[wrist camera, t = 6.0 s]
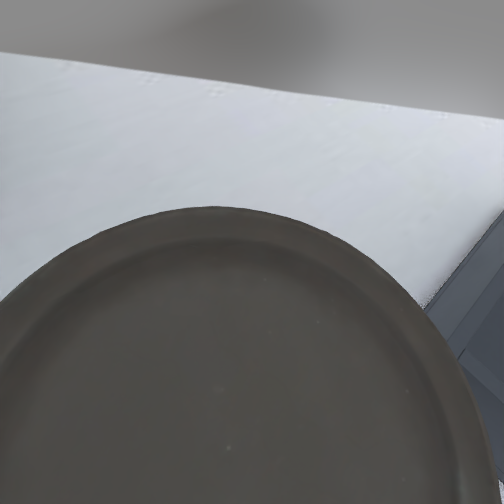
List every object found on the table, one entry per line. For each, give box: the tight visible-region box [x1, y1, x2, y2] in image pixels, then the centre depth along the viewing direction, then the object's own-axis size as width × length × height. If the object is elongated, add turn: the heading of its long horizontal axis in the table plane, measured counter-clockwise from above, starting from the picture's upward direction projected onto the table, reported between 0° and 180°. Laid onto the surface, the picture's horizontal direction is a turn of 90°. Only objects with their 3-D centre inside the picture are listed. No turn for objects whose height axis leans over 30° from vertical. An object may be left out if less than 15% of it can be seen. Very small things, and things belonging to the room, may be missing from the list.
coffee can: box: [0, 206, 502, 504], centre depth 12 cm, size 10×10×14 cm
